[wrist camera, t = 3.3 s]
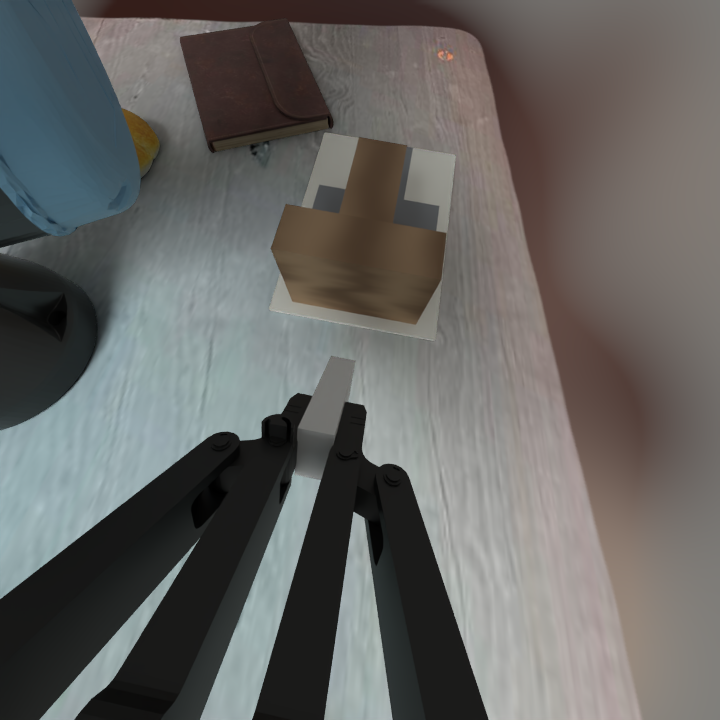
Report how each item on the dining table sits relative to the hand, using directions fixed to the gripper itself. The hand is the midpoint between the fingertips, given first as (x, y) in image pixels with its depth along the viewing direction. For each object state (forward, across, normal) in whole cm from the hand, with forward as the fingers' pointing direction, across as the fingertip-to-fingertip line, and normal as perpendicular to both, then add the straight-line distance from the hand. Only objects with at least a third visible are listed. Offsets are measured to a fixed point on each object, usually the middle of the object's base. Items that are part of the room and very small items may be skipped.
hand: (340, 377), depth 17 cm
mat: (+18, -1, +8) cm, 20 cm away
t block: (+15, -1, +5) cm, 16 cm away
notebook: (+32, -20, +21) cm, 43 cm away
